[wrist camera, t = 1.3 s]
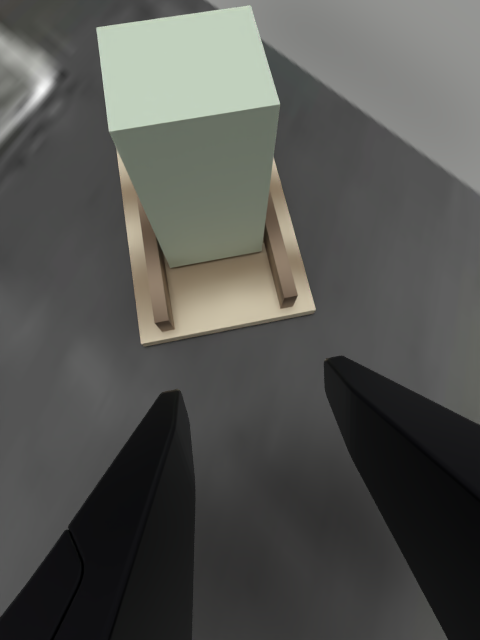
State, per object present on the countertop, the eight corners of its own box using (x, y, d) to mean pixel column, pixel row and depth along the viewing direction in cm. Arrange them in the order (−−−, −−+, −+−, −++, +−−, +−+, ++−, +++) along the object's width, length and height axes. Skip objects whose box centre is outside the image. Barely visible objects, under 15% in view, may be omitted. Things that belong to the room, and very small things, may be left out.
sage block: (261, 251, 23) (280, 103, 12) (170, 268, 23) (109, 131, 12) (246, 186, 24) (250, 5, 14) (159, 201, 24) (96, 27, 13)
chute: (313, 313, 23) (322, 299, 20) (144, 346, 22) (131, 336, 20) (249, 81, 28) (250, 45, 26) (113, 102, 28) (99, 68, 25)
